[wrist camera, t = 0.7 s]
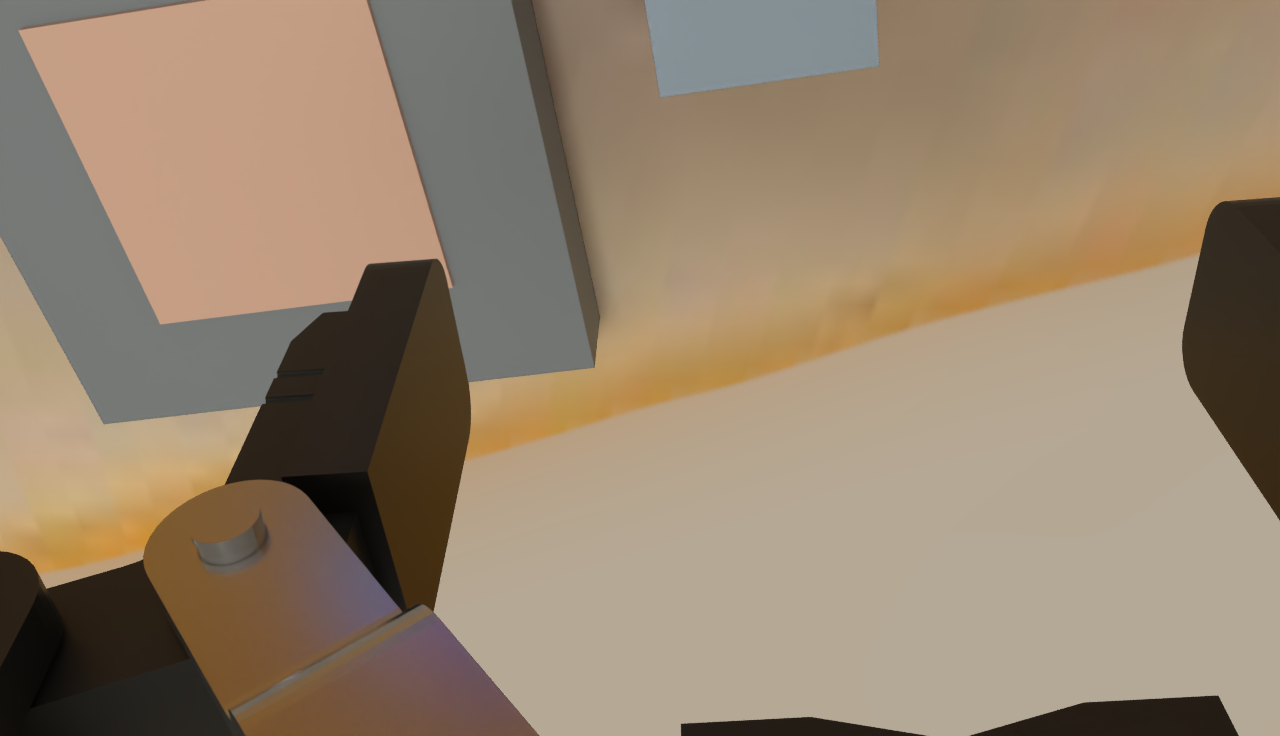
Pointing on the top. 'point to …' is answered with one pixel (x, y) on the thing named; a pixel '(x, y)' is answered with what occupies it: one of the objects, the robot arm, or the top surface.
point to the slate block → (757, 41)
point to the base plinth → (280, 184)
